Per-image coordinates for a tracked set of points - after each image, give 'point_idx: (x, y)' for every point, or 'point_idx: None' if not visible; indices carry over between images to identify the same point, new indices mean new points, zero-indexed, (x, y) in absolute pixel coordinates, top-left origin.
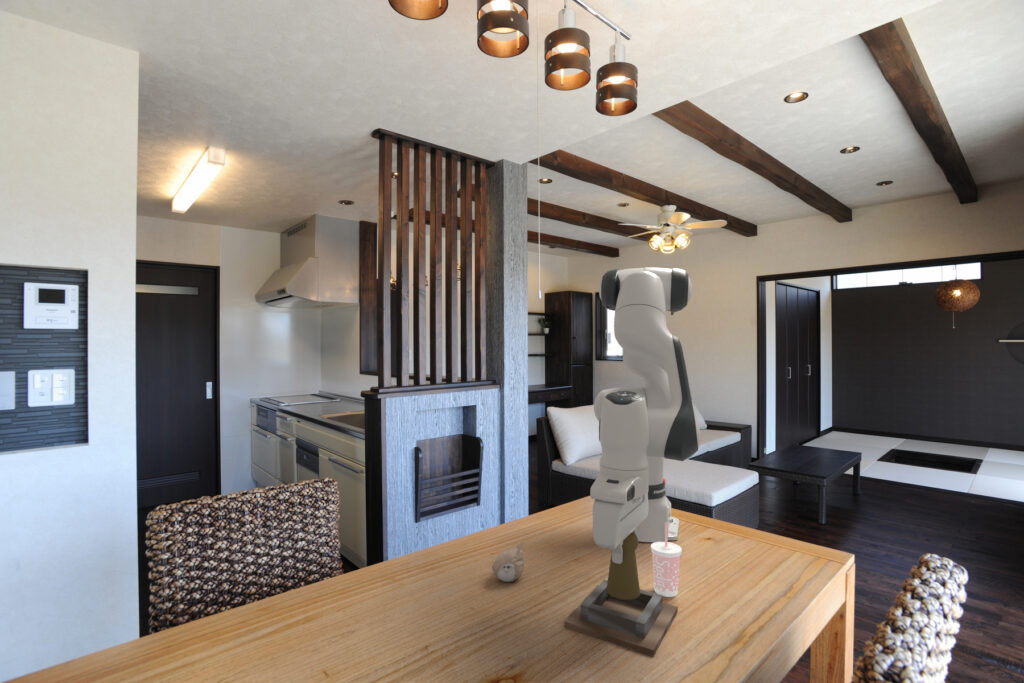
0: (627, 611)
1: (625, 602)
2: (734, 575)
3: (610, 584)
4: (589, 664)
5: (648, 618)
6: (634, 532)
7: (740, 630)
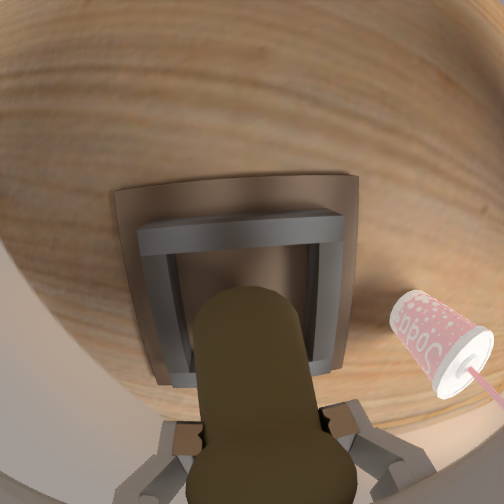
0: None
1: (304, 281)
2: None
3: (199, 331)
4: (61, 299)
5: None
6: (371, 489)
7: None
